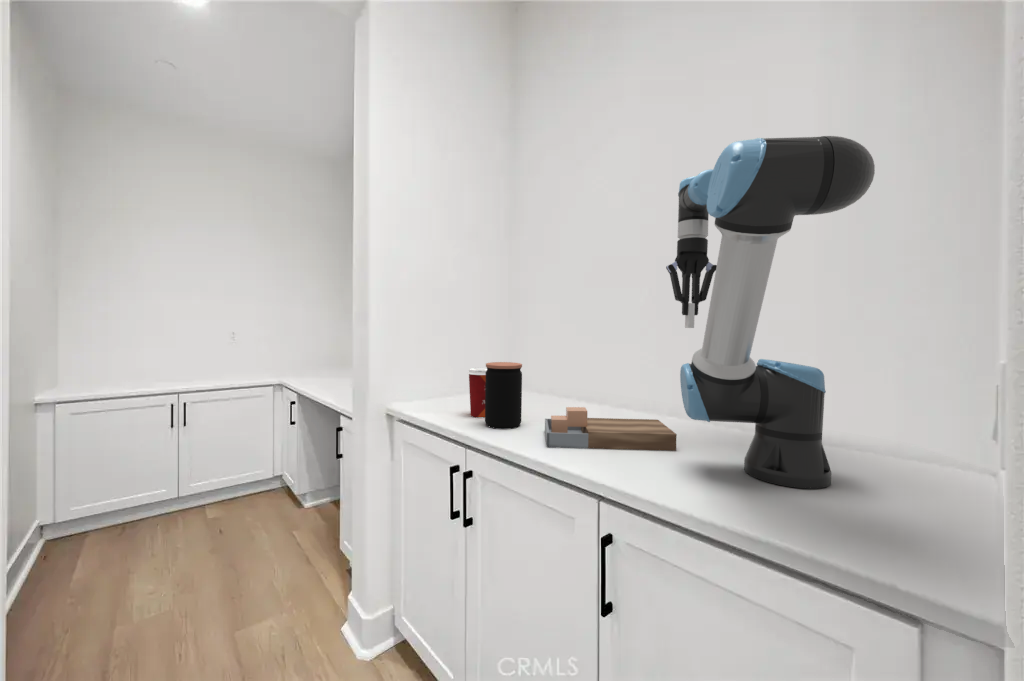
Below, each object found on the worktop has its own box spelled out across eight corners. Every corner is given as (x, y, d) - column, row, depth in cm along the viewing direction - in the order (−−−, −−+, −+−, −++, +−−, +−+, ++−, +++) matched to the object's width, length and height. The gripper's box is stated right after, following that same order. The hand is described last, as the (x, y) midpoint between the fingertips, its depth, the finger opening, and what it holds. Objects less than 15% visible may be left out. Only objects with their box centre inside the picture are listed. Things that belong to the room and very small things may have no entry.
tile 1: (567, 419, 115) (551, 419, 116) (567, 439, 116) (551, 439, 116) (566, 415, 120) (551, 415, 121) (566, 434, 121) (551, 434, 121)
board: (676, 450, 109) (676, 434, 109) (588, 448, 110) (588, 432, 110) (657, 433, 125) (657, 419, 125) (580, 432, 126) (581, 417, 126)
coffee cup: (492, 418, 141) (493, 370, 140) (465, 418, 141) (466, 370, 140) (493, 413, 149) (494, 367, 149) (468, 412, 150) (469, 367, 149)
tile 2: (587, 426, 115) (587, 411, 115) (567, 426, 116) (567, 410, 115) (585, 422, 120) (585, 407, 120) (566, 422, 121) (566, 407, 120)
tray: (588, 448, 110) (588, 434, 110) (546, 447, 111) (547, 433, 110) (580, 432, 126) (581, 419, 126) (544, 431, 126) (544, 418, 126)
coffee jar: (522, 421, 138) (523, 362, 137) (519, 430, 127) (520, 366, 126) (487, 420, 139) (488, 361, 138) (481, 428, 128) (482, 365, 127)
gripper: (711, 241, 124) (708, 327, 125) (663, 240, 124) (660, 327, 126) (723, 236, 116) (720, 328, 118) (671, 235, 117) (669, 327, 118)
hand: (689, 327), depth 122 cm, fingers closed
